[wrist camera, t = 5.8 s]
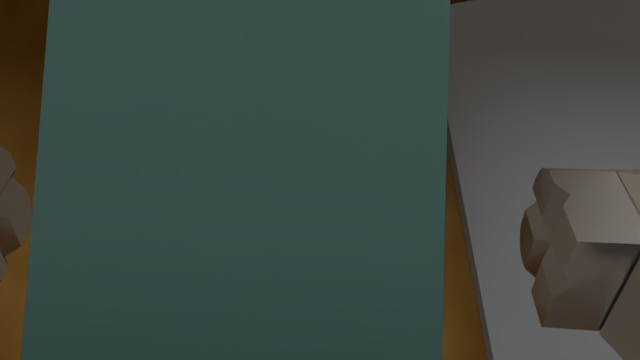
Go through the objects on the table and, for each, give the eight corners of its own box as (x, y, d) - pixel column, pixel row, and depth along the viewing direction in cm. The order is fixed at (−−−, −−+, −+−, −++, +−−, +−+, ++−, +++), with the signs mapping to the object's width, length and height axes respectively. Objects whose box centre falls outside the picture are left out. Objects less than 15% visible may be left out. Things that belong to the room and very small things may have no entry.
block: (193, 293, 14) (19, 372, 6) (203, 109, 15) (53, -33, 7) (379, 301, 14) (441, 393, 6) (385, 115, 15) (450, -20, 7)
